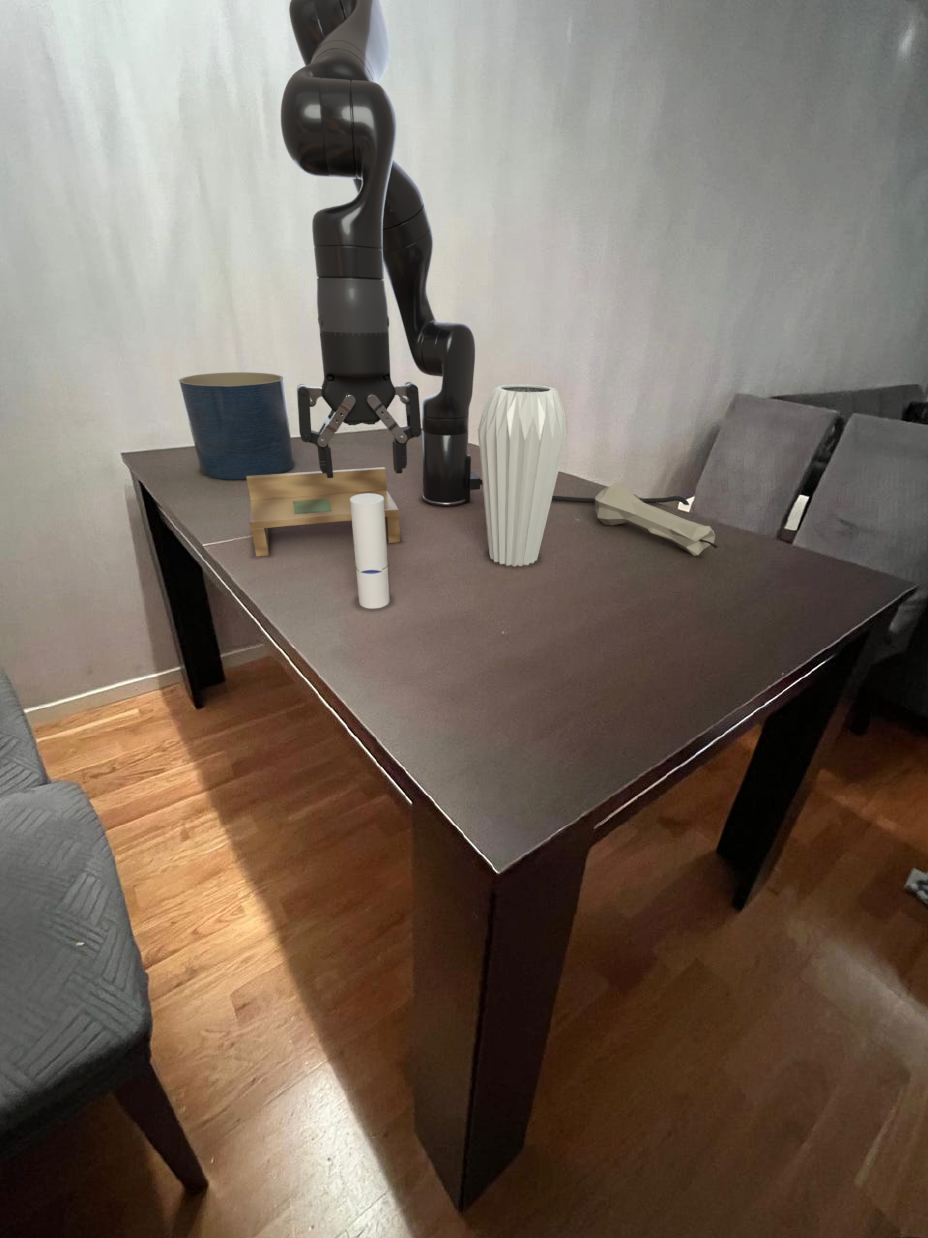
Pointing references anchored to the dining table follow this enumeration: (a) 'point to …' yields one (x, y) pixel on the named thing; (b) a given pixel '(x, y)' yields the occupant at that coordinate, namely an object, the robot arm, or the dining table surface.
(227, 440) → the planter
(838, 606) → the dining table surface
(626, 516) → the faceted club
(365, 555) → the tube
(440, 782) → the dining table surface
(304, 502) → the shelf
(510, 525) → the vase
